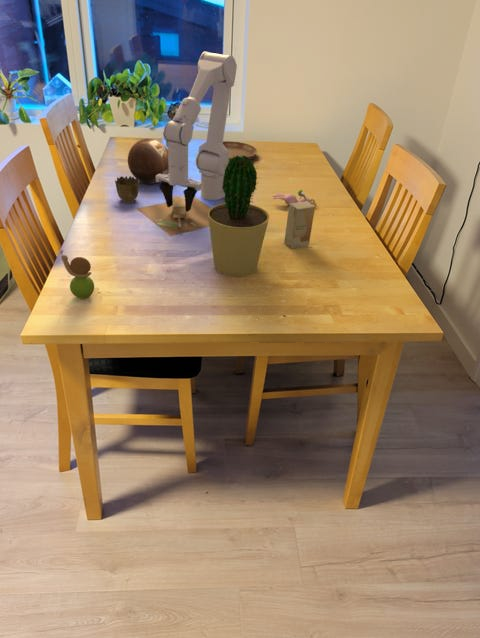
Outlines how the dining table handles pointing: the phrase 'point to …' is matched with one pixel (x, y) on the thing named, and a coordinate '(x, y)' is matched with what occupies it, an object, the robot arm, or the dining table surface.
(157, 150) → the wooden sphere
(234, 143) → the plant saucer
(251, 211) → the potted cactus
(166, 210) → the brown flat square board
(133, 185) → the cup
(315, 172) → the dining table surface
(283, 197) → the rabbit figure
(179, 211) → the peg key
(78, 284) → the snail figurine
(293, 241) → the skincare box
